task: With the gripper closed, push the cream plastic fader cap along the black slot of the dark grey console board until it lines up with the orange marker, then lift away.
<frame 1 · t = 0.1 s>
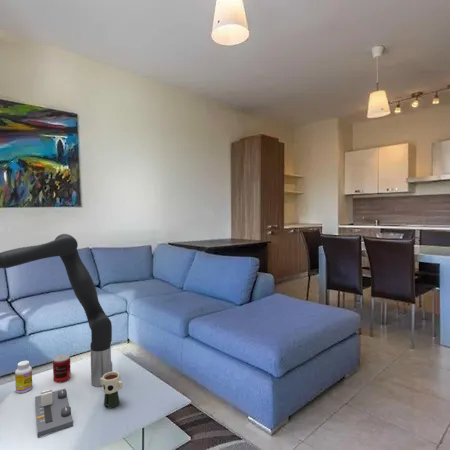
fader cap: (46, 397, 136), point 5 cm above the table, slide at 0.0 cm
console board: (53, 412, 134), on the table
canned food: (62, 379, 160), on the table
supplement bottle: (24, 389, 151), on the table
character mug: (111, 404, 140), on the table
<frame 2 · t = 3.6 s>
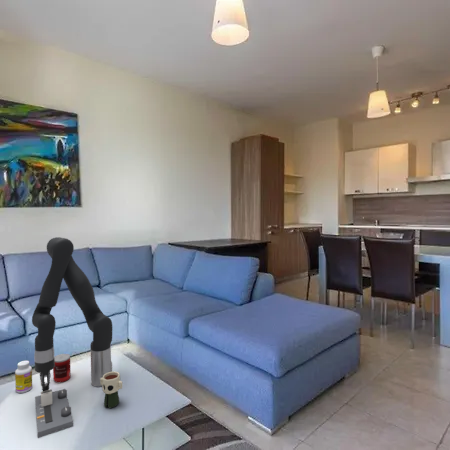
hand: (45, 396, 140), 3 cm above the table, fingers closed
fader cap: (46, 397, 136), point 5 cm above the table, slide at 0.0 cm, touching gripper
everything else where it was.
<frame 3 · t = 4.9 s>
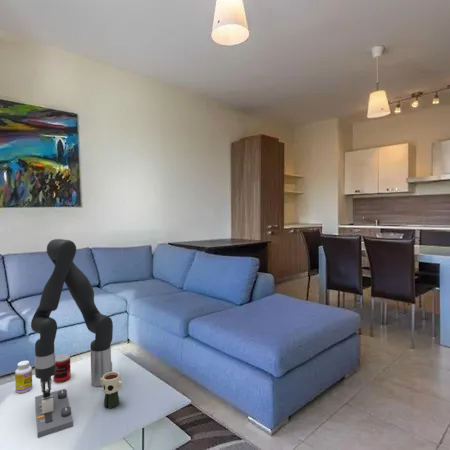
hand: (46, 403, 136), 3 cm above the table, fingers closed
fader cap: (47, 404, 132), point 5 cm above the table, slide at 5.4 cm, touching gripper
everything else where it was.
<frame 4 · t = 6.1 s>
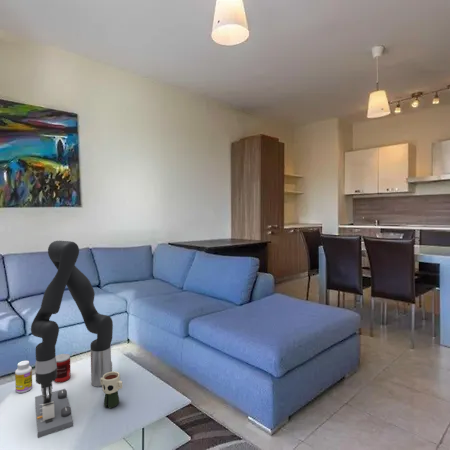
hand: (47, 409, 132), 3 cm above the table, fingers closed
fader cap: (48, 410, 128), point 5 cm above the table, slide at 10.0 cm, touching gripper
everything else where it was.
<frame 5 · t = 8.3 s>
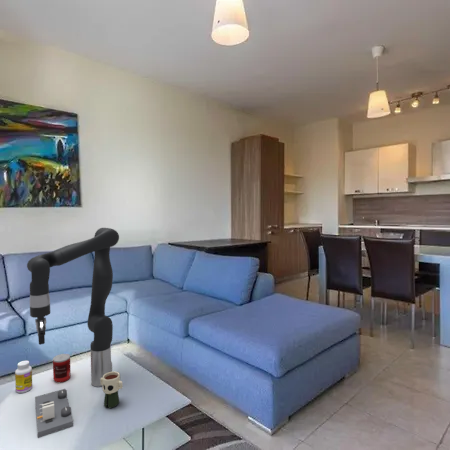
hand: (41, 343, 138), 27 cm above the table, fingers closed
fader cap: (48, 410, 128), point 5 cm above the table, slide at 10.0 cm
everything else where it was.
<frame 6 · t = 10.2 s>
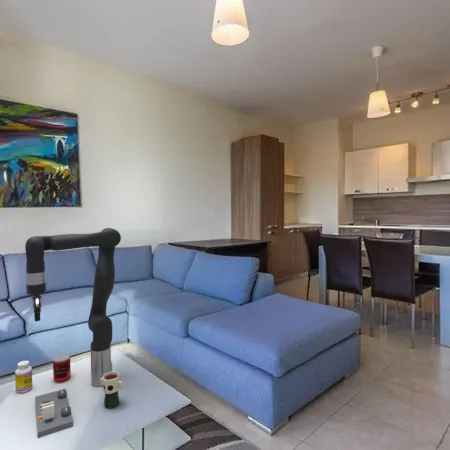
hand: (37, 320, 143), 35 cm above the table, fingers closed
nothing on the table moved.
at the end: fader cap slide at 10.0 cm; fader cap touching nothing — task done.
